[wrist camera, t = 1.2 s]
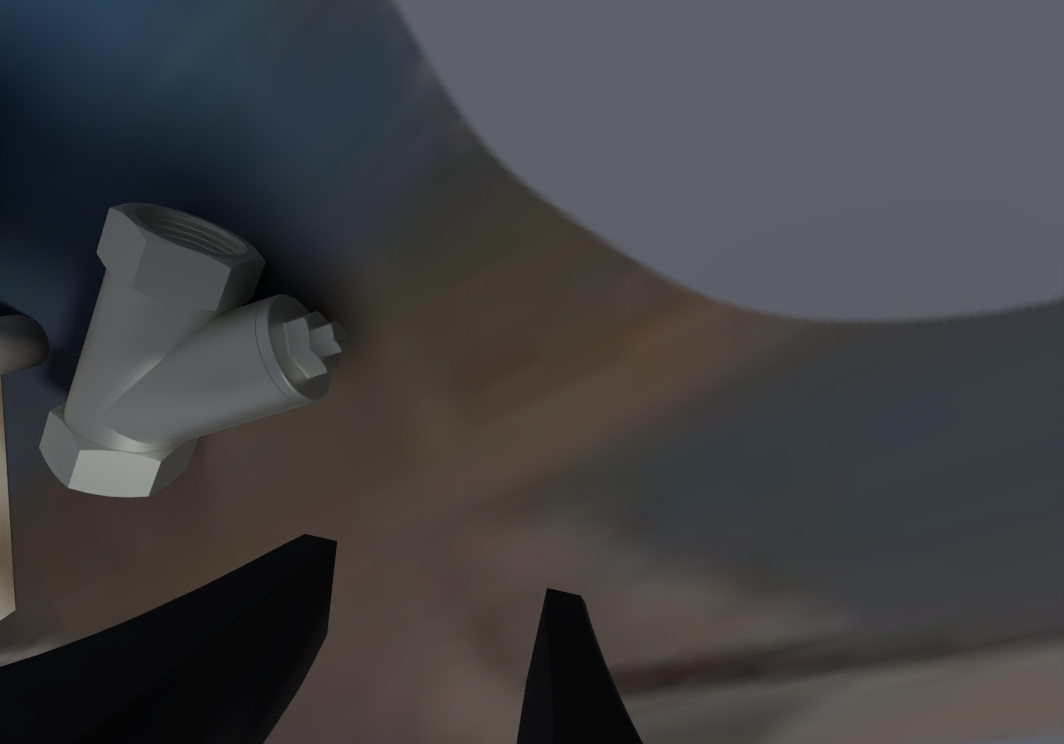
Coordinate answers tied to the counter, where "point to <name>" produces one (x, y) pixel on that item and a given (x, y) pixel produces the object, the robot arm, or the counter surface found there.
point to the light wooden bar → (3, 351)
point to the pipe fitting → (179, 353)
